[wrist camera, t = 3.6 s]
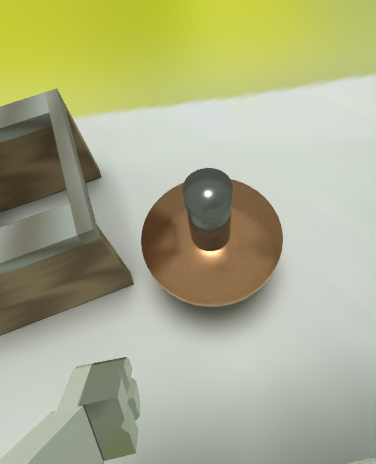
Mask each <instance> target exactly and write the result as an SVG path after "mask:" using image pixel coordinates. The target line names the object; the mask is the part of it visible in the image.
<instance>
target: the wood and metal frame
mask: <svg viewBox="0 0 376 464" xmlns="http://www.w3.org/2000/svg"><path fill="white" fill-rule="evenodd" d="M100 177H101V174H100V171H99V168H98V166H97V164H96V162H95V160H94V158H93V156H92V155H91V153H90V151H89V149H88V147H87V145H86V143H85V141H84V139H83V137H82V136H81V134H80V132H79V130H78V128H77V126H76V124H75V122H74V120H73V118H72V116H71V115H70V113H69V111H68V109H67V107H66V105H65V103H64V101H63V99H62V97H61V95H60V94H59V92H58V90H57V89H54V90H51V91H48V92H45V93H42V94H39V95H36V96H33V97H29V98H26V99H23V100H20V101H17V102H13V103H11V104H7V105H4V106H1V107H0V212H2V211H5V210H8V209H11V208H14V207H17V206H20V205H23V204H25V203H28V202H31V201H34V200H37V199H40V198H43V197H45V196H48V195H51V194H54V193H57V192H60V191H63V190H66V189H67V193H68V198H69V202H70V203H68V204H65V205H62V206H60V207H57V208H54V209H51V210H48V211H45V212H43V213H40V214H37V215H34V216H31V217H28V218H26V219H23V220H20V221H17V222H14V223H11V224H9V225H6V226H3V227H0V335H2V334H5V333H8V332H10V331H13V330H15V329H18V328H21V327H23V326H26V325H28V324H31V323H34V322H36V321H39V320H41V319H44V318H47V317H49V316H52V315H55V314H57V313H60V312H62V311H65V310H68V309H70V308H73V307H75V306H78V305H81V304H83V303H86V302H88V301H91V300H94V299H96V298H99V297H101V296H104V295H107V294H109V293H112V292H115V291H117V290H120V289H122V288H125V287H128V286H130V285H133V284H134V283H133V280H132V277H131V273H130V271H129V270H128V268H127V267H126V266H125V264H124V263H123V261H122V260H121V258H120V257H119V256H118V254H117V253H116V251H115V250H114V248H113V247H112V246H111V244H110V243H109V241H108V240H107V238H106V237H105V236H104V234H103V233H102V231H101V230H100V228H99V227H98V226H97V224H96V222H95V218H94V214H93V210H92V207H91V203H90V199H89V195H88V192H87V188H86V184H85V183H86V182H89V181H91V180H94V179H97V178H100Z"/></svg>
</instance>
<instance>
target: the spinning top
mask: <svg viewBox="0 0 376 464" xmlns="http://www.w3.org/2000/svg"><path fill="white" fill-rule="evenodd" d="M282 243H283V235H282V228H281V224H280V221H279V218H278V216H277V214H276V212H275V210H274V208H273V207H272V206H271V204H270V203H269V202H268V201H267V200H266V198H265V197H264V196H262V195H261V194H260V193H259V192H258V191H256V190H255V189H253V188H251V187H250V186H248V185H246V184H244V183H241V182H238V181H235V180H231V179H230V178H229V177H228V176H227V175H226V174H225V173H224V172H222V171H220V170H218V169H213V168H204V169H200V170H197V171H195V172H193V173H192V174H190V175H189V176H188V177H187V178H186V180H185V182H184V183H182V184H180V185H178V186H176V187H174V188H172V189H171V190H169V191H168V192H167V193H165V194H164V195H163V196H162V197H161V198H160V199H159V200H158V201H157V202H156V203H155V204H154V205H153V207H152V208H151V210H150V211H149V213H148V215H147V217H146V219H145V222H144V225H143V230H142V237H141V245H142V252H143V256H144V260H145V262H146V264H147V267H148V268H149V270H150V272H151V274H152V275H153V277H154V279H155V280H156V281H157V282H158V284H159V285H160V286H161V287H162V288H163V289H164V290H165V291H166V292H168V293H169V294H171V295H172V296H174V297H175V298H177V299H179V300H181V301H184V302H186V303H189V304H193V305H197V306H204V307H220V306H226V305H231V304H234V303H237V302H240V301H242V300H244V299H246V298H248V297H250V296H251V295H253V294H254V293H256V292H257V291H258V290H259V289H260V288H262V287H263V286H264V284H265V283H266V282H267V281H268V280H269V278H270V277H271V275H272V274H273V272H274V270H275V268H276V265H277V263H278V261H279V258H280V254H281V251H282Z"/></svg>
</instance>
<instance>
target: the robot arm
mask: <svg viewBox="0 0 376 464" xmlns="http://www.w3.org/2000/svg"><path fill="white" fill-rule="evenodd" d="M131 374H132V367H131V364H130V361H129V359H128V358H127V357H124V358H119V359H114V360H108V361H103V362H98V363H94V364H88V365H83V366H78V367H76V368H75V369H74V370H73V373H72V375H71V378H70V380H69V382H68V385H67V387H66V390H65V392H64V395H63V397H62V400H61V402H60V404H59V407H58V409H57V411H55V412H51V413H50V414H49V415H48V416H47V417H46V418H45V419H44V420H42V421H41V422H40V423H39V424H38V425H37V426H36V427H35V428H34V429H33V430H32V431H31V432H29V433H28V434H27V435H26V436H25V437H24V438H23V439H22V440H21V441H20V442H19V443H18V444H17V445H15V446H14V447H13V448H12V449H11V450H10V451H9V452H8V453H7V454H6V455H5V456H4V457H2V458H1V459H0V464H104V462H103V461H106V460H110V459H114V458H118V457H122V456H126V455H130V454H134V453H136V445H137V435H138V429H137V426H136V422H135V421H136V420H137V419H138V417H139V414H140V398H139V392H138V387H137V383H136V381H135V380H134V379H132V378H131ZM347 464H376V457H375V458H370V459H366V460H361V461H357V462H352V463H347Z"/></svg>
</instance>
